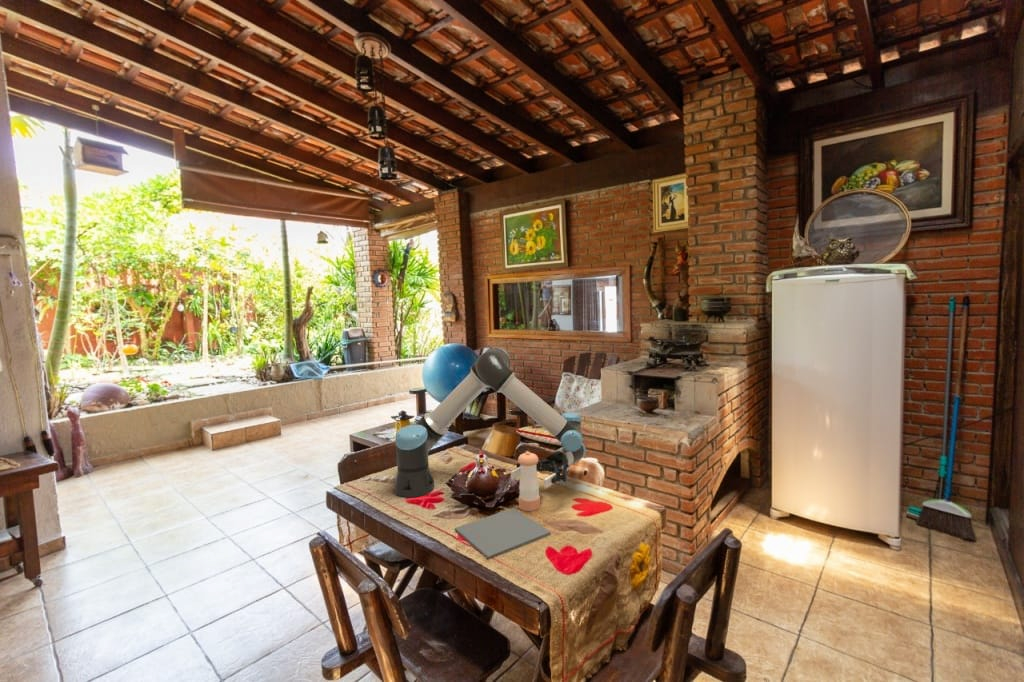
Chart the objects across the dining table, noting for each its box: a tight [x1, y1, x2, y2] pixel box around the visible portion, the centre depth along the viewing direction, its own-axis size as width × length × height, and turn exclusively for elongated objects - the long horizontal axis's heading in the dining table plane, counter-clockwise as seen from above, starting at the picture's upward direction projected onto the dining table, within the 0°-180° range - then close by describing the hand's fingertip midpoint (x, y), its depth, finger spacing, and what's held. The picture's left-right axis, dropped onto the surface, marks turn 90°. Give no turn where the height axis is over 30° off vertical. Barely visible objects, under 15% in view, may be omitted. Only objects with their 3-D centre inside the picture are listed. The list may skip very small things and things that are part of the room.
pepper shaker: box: [517, 451, 541, 512], centre depth 156 cm, size 7×7×19 cm
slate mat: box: [454, 507, 552, 560], centre depth 140 cm, size 20×22×1 cm
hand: (527, 479), depth 155 cm, fingers open, 13 cm apart
